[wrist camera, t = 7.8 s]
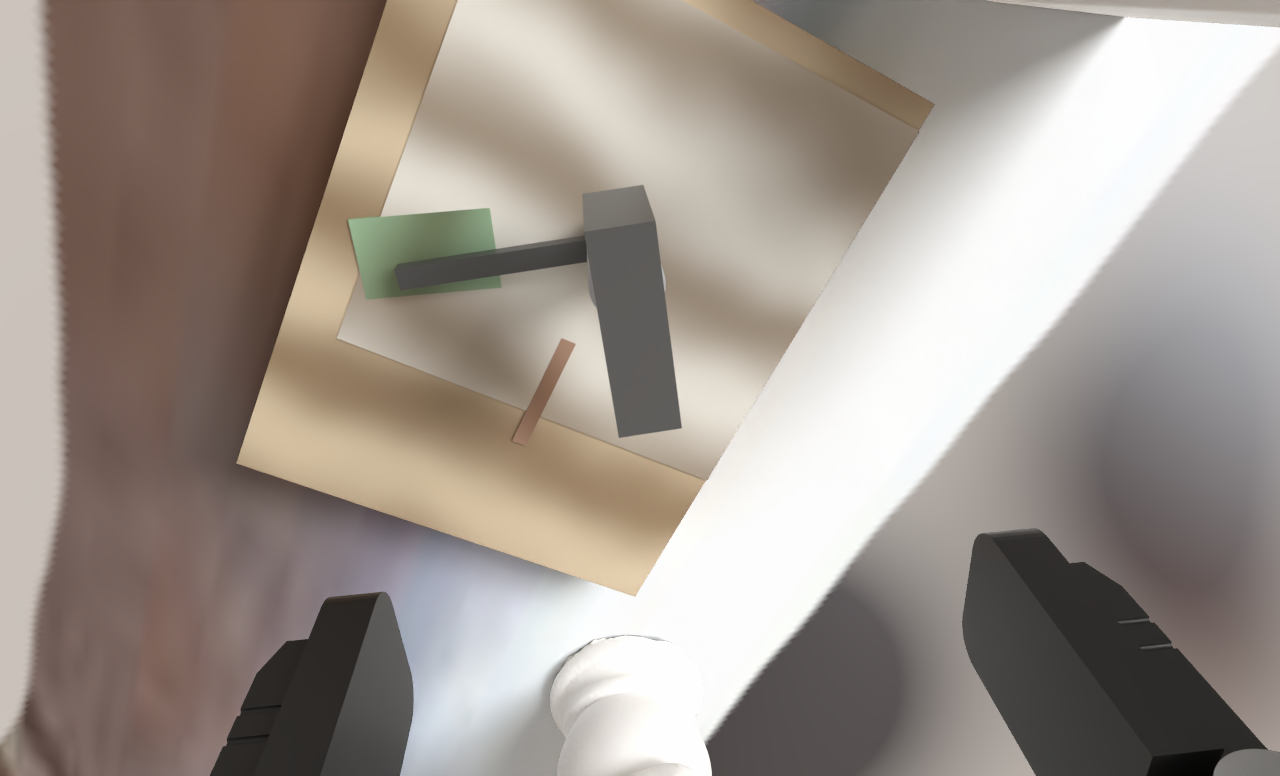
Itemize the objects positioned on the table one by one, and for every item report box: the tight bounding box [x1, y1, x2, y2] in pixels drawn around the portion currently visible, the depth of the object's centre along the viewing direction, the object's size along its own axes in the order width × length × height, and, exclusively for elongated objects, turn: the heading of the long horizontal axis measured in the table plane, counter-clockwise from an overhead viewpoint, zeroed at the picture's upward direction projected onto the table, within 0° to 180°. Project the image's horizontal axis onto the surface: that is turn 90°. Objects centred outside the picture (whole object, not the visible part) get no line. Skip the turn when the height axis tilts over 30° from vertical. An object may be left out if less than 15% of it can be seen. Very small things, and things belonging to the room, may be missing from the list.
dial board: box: [237, 0, 935, 596], centre depth 32 cm, size 24×18×4 cm
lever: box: [394, 185, 682, 438], centre depth 26 cm, size 9×6×9 cm, turn 98°
